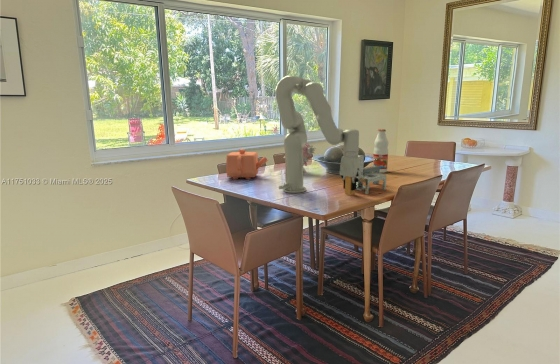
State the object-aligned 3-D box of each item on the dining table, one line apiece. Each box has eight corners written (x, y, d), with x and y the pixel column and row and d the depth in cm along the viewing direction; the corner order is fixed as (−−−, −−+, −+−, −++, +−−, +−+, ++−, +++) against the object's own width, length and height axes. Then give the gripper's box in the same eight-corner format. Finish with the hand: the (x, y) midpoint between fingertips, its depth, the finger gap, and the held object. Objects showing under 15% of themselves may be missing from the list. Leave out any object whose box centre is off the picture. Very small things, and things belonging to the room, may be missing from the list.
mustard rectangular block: (350, 195, 191) (350, 172, 188) (344, 194, 194) (345, 171, 191) (354, 194, 193) (355, 171, 191) (349, 192, 196) (349, 170, 193)
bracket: (363, 187, 206) (364, 169, 204) (359, 187, 208) (360, 168, 206) (378, 183, 215) (379, 166, 212) (375, 183, 217) (376, 165, 214)
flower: (271, 170, 251) (279, 139, 237) (293, 162, 265) (302, 132, 251) (291, 186, 241) (301, 155, 227) (313, 177, 255) (324, 147, 241)
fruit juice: (387, 170, 252) (389, 128, 246) (386, 173, 243) (388, 130, 237) (373, 169, 255) (375, 128, 249) (371, 172, 247) (373, 129, 240)
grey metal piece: (367, 194, 192) (368, 159, 188) (341, 188, 205) (342, 156, 201) (385, 189, 202) (387, 156, 198) (360, 183, 215) (361, 153, 211)
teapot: (270, 173, 247) (269, 147, 243) (265, 181, 225) (265, 152, 221) (233, 173, 249) (232, 147, 245) (225, 181, 227) (223, 152, 223)
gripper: (333, 153, 193) (332, 187, 197) (359, 156, 180) (358, 193, 184) (343, 151, 198) (342, 185, 202) (369, 155, 185) (367, 190, 189)
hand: (349, 188), depth 193 cm, fingers open, 4 cm apart
